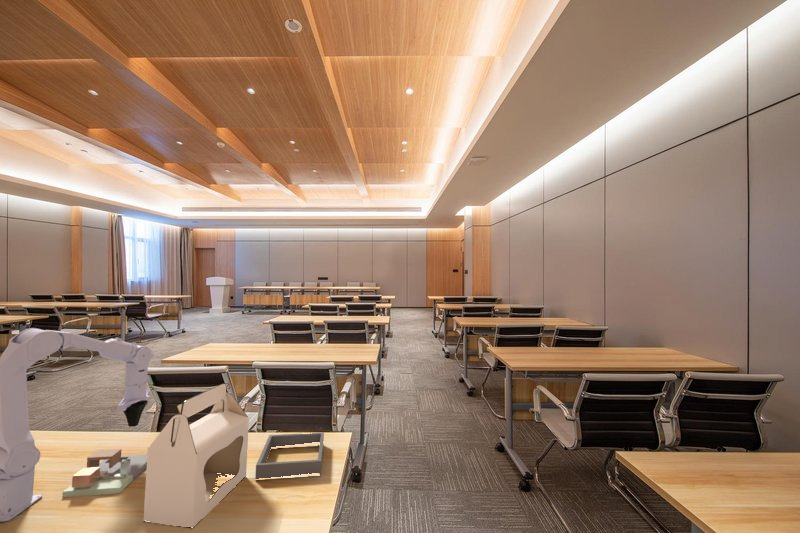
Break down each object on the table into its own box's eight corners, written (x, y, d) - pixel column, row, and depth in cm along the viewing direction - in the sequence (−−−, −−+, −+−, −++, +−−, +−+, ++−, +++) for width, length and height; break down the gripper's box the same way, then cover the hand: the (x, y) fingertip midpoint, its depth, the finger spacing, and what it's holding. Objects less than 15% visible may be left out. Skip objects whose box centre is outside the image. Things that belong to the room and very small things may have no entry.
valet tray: (320, 476, 102) (321, 461, 103) (255, 481, 99) (256, 465, 99) (323, 445, 122) (323, 432, 122) (268, 448, 118) (269, 435, 118)
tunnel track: (119, 493, 92) (121, 468, 92) (62, 497, 89) (64, 472, 90) (154, 458, 109) (156, 438, 110) (108, 461, 107) (109, 440, 107)
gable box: (206, 472, 103) (211, 378, 104) (246, 476, 101) (251, 381, 103) (141, 523, 81) (148, 404, 82) (191, 530, 79) (198, 408, 81)
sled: (116, 486, 92) (117, 470, 92) (71, 489, 90) (72, 472, 90) (133, 471, 99) (134, 455, 100) (92, 473, 98) (93, 458, 98)
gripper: (136, 389, 104) (133, 435, 103) (161, 376, 118) (158, 416, 117) (110, 390, 103) (107, 436, 102) (138, 376, 117) (135, 417, 116)
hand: (133, 425), depth 110 cm, fingers closed
